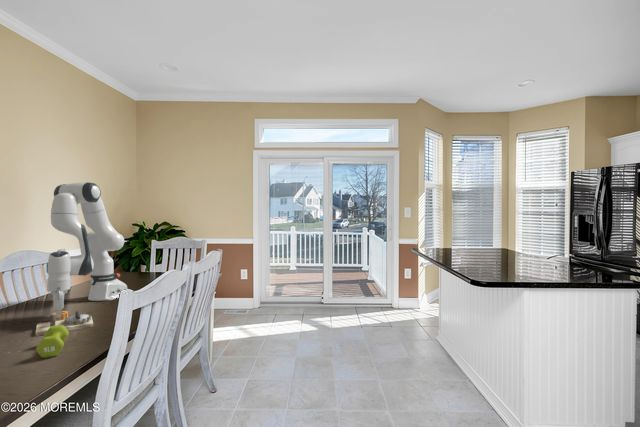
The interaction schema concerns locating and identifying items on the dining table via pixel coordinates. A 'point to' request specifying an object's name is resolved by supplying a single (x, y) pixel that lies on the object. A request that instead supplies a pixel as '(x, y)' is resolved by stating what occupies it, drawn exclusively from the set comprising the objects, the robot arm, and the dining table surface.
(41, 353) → the dumbbell
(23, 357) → the dining table surface
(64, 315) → the orange gear
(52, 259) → the robot arm
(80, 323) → the gear board
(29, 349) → the dining table surface
